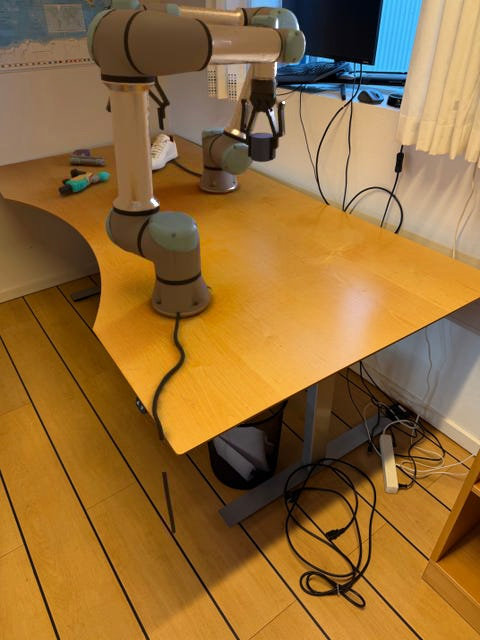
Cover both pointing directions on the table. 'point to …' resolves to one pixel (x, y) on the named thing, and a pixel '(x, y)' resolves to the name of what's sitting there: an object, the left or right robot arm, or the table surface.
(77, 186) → the toy gun
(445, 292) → the table surface
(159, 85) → the right robot arm
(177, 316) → the left robot arm
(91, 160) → the toy gun
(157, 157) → the sneaker
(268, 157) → the cylinder
